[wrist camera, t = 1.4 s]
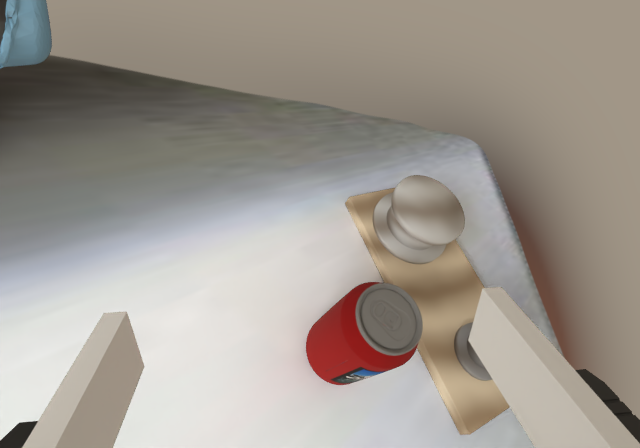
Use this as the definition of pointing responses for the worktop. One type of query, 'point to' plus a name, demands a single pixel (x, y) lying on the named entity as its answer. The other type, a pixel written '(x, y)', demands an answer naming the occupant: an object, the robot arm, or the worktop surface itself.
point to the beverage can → (365, 334)
